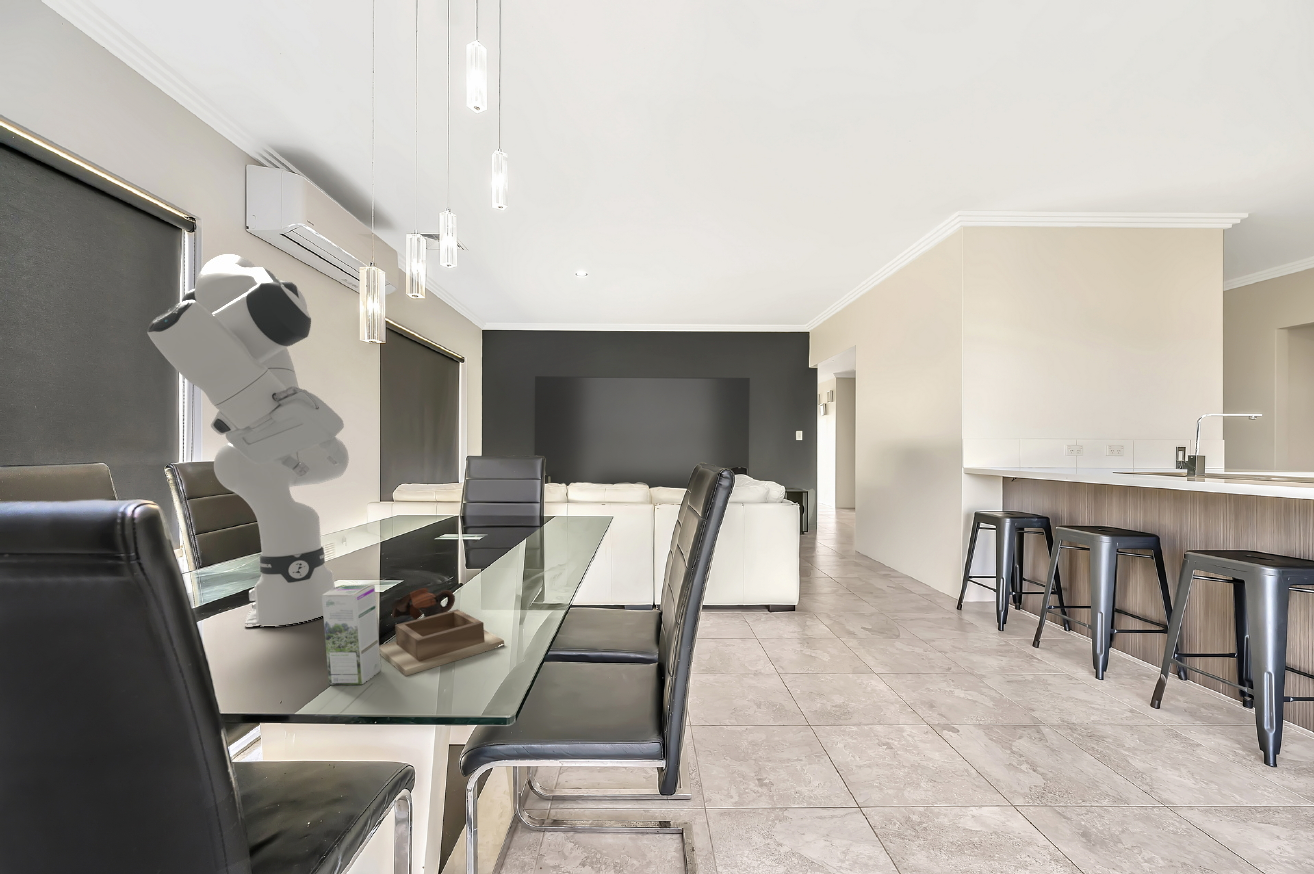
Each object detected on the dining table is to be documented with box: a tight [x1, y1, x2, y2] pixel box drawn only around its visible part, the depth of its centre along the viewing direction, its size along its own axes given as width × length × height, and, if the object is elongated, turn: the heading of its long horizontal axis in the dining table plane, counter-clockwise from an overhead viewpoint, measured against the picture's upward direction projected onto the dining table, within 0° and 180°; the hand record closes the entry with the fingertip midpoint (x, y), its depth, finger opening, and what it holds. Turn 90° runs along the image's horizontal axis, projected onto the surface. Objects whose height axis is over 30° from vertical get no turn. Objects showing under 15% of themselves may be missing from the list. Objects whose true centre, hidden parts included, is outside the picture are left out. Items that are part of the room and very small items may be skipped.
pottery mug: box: [390, 587, 456, 620], centre depth 124 cm, size 12×10×8 cm
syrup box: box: [322, 583, 382, 686], centre depth 97 cm, size 6×6×14 cm
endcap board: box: [379, 608, 505, 677], centre depth 108 cm, size 15×17×4 cm
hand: (322, 467), depth 99 cm, fingers open, 8 cm apart
